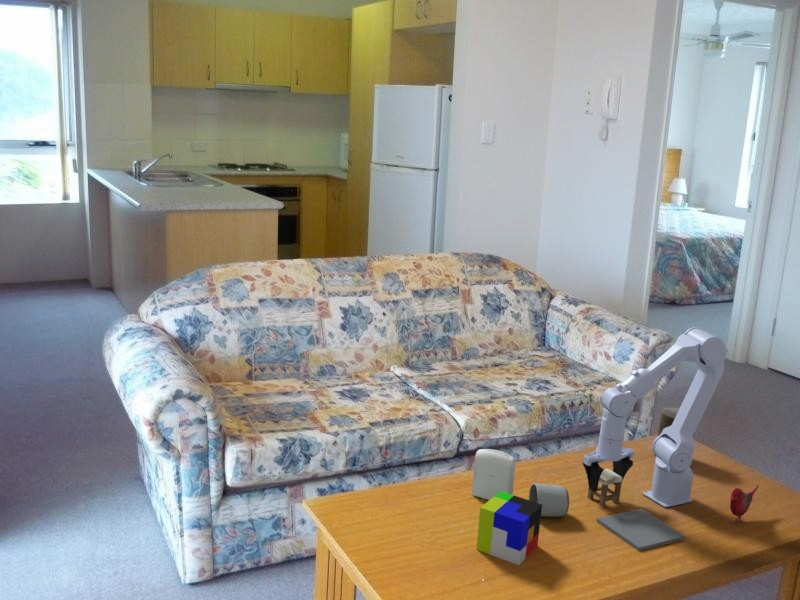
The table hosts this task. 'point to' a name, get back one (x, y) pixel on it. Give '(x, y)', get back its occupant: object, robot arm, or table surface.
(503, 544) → the puzzle toy
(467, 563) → the table surface
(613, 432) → the robot arm
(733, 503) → the decorative bird figurine
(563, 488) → the ceramic mug
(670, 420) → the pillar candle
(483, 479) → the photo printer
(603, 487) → the stool
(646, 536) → the mat
